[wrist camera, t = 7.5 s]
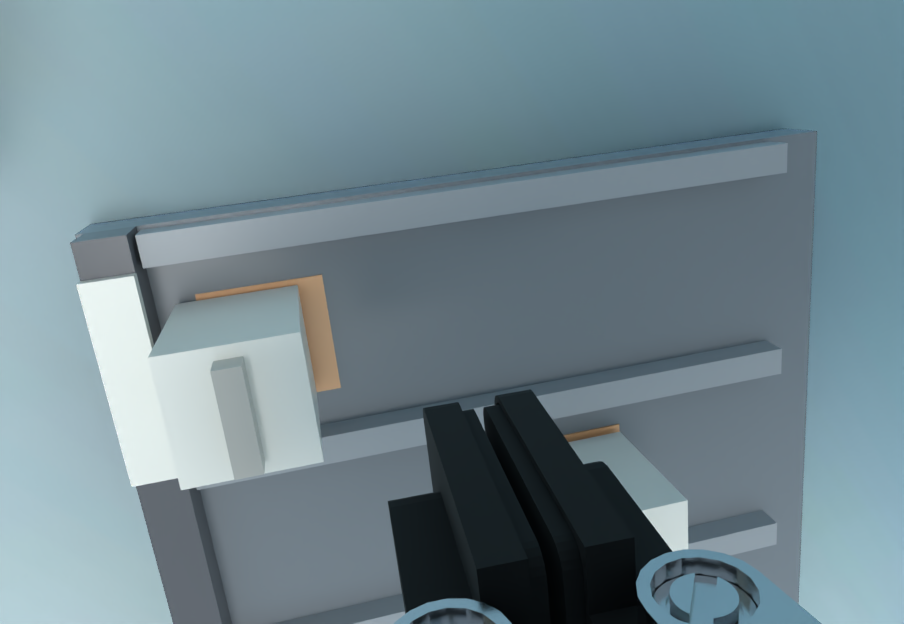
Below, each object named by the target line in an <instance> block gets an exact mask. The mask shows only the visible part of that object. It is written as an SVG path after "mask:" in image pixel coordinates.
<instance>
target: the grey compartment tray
mask: <svg viewBox="0 0 904 624" xmlns="http://www.w3.org/2000/svg"><path fill="white" fill-rule="evenodd" d="M816 148H817V131H809V130H795V129H778V130H771V131H764V132H757V133H749V134H742V135H735V136H728V137H720V138H713V139H706V140H699V141H691V142H684V143H677V144H670V145H662V146H655V147H648V148H641V149H633V150H626V151H619V152H612V153H604V154H597V155H590V156H583V157H575V158H568V159H561V160H554V161H546V162H539V163H532V164H525V165H517V166H510V167H503V168H496V169H488V170H481V171H474V172H467V173H459V174H452V175H445V176H438V177H430V178H423V179H416V180H409V181H401V182H394V183H387V184H380V185H372V186H365V187H358V188H351V189H343V190H336V191H329V192H322V193H314V194H307V195H300V196H293V197H285V198H278V199H271V200H264V201H256V202H249V203H242V204H235V205H227V206H220V207H213V208H206V209H198V210H191V211H184V212H177V213H169V214H162V215H155V216H148V217H140V218H133V219H126V220H119V221H111V222H104V223H97V224H90V225H89V226H87V227H86V228H84V229H83V230H81V231H80V232H78V233H77V234H75V236H76V239H75V240H74V241H72V242H71V243H70V244H71V248H72V251H73V255H74V259H75V262H76V266H77V270H78V274H79V277H80V282H79V283H77V284H76V286H77V289H78V293H79V297H80V300H81V304H82V308H83V311H84V315H85V319H86V322H87V326H88V330H89V333H90V337H91V341H92V344H93V348H94V352H95V355H96V359H97V363H98V366H99V370H100V374H101V377H102V381H103V385H104V388H105V392H106V396H107V399H108V403H109V406H110V410H111V414H112V417H113V421H114V425H115V428H116V432H117V436H118V439H119V443H120V447H121V450H122V454H123V458H124V461H125V465H126V469H127V472H128V476H129V480H130V483H131V487H135V486H136V488H137V491H138V495H139V499H140V502H141V506H142V510H143V513H144V517H145V521H146V524H147V528H148V532H149V535H150V539H151V543H152V547H153V550H154V554H155V558H156V561H157V565H158V569H159V572H160V576H161V580H162V583H163V587H164V591H165V595H166V598H167V602H168V606H169V609H170V613H171V617H172V620H173V624H394V622H396V621H397V620H398V619H400V618H401V617H402V616H403V615H405V608H404V602H403V596H402V590H401V584H400V577H399V571H398V565H397V559H396V552H395V546H394V539H393V533H392V526H391V520H390V513H389V507H388V501H390V500H396V499H401V498H406V497H412V496H417V495H422V494H428V493H433V487H432V480H431V472H430V465H429V457H428V450H427V442H426V434H425V427H424V419H423V408H426V407H432V406H437V405H443V404H449V403H455V402H459V404H460V406H461V408H462V411H464V410H469V409H474V410H475V412H476V414H477V416H478V418H479V420H480V423H481V425H482V427H483V429H484V431H485V427H484V417H483V408H484V407H487V406H492V405H494V400H495V396H496V395H501V394H507V393H512V392H518V391H524V390H530V389H531V390H532V391H533V392H534V394H535V395H536V397H537V398H538V400H539V401H540V403H541V404H542V405H543V407H544V408H545V410H546V411H547V413H548V414H549V415H550V417H551V418H552V420H553V421H554V423H555V424H556V425H557V427H558V428H559V430H560V431H561V433H562V434H563V435H564V437H565V438H566V440H567V441H568V442H572V441H576V440H581V439H586V438H591V437H596V436H601V435H606V434H610V433H615V432H621V433H622V434H623V435H624V436H625V437H626V438H627V439H628V440H629V441H630V442H631V443H632V444H633V445H634V446H635V447H636V448H637V449H638V451H639V452H640V453H641V454H642V455H643V456H644V457H645V458H646V459H647V460H648V461H649V462H650V463H651V464H652V465H653V466H654V467H655V468H656V469H657V470H658V471H659V472H660V473H661V474H662V475H663V476H664V477H665V478H666V479H667V480H668V481H669V482H670V483H671V484H672V485H673V486H674V487H675V488H676V489H677V490H678V491H679V492H680V493H681V494H682V495H683V496H684V497H685V498H686V499H687V500H688V549H704V550H709V551H715V552H720V553H725V554H727V555H730V556H732V557H735V558H738V559H740V560H743V561H744V562H746V563H747V564H749V565H750V566H752V567H754V568H755V569H757V570H758V571H760V572H761V573H762V574H763V575H764V576H765V577H767V578H768V579H769V580H770V581H771V582H773V583H774V584H775V585H776V586H777V587H779V588H780V589H781V590H782V591H783V592H784V593H786V594H787V595H788V596H789V597H790V598H792V599H793V600H794V601H795V602H796V603H798V602H799V576H800V551H801V526H802V501H803V476H804V450H805V425H806V400H807V375H808V349H809V324H810V299H811V274H812V249H813V223H814V198H815V173H816ZM293 285H298V290H299V296H300V302H301V307H302V313H303V318H304V324H305V329H306V335H307V341H308V346H309V352H310V357H311V363H312V369H313V374H314V380H315V385H316V391H317V400H318V410H319V419H320V429H321V439H322V449H323V459H324V462H321V463H316V464H311V465H306V466H301V467H296V468H291V469H286V470H281V471H276V472H271V473H266V474H263V475H258V476H253V477H248V478H243V479H238V480H231V481H226V482H221V483H216V484H210V485H205V486H200V487H195V488H190V489H185V490H181V489H180V485H179V481H178V477H177V473H176V469H175V465H174V461H173V457H172V453H171V449H170V445H169V441H168V437H167V433H166V429H165V425H164V421H163V417H162V413H161V409H160V405H159V401H158V397H157V393H156V389H155V385H154V381H153V377H152V373H151V369H150V365H149V361H148V356H149V354H150V352H151V351H152V349H153V347H154V345H155V343H156V341H157V339H158V337H159V335H160V333H161V331H162V330H163V328H164V326H165V324H166V322H167V320H168V318H169V316H170V314H171V312H172V311H173V309H174V307H175V305H176V304H179V303H186V302H192V301H198V300H205V299H211V298H217V297H224V296H230V295H236V294H243V293H249V292H255V291H262V290H268V289H274V288H281V287H287V286H293Z"/></svg>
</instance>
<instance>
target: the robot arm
mask: <svg viewBox="0 0 904 624" xmlns="http://www.w3.org/2000/svg"><path fill="white" fill-rule="evenodd" d="M483 417H484V427H485V431H484V429H483V427H482V425H481V423H480V420H479V418H478V416H477V414H476V412H475V410H474V409H469V410H464V411H462V408H461V406H460V404H459V402H455V403H449V404H443V405H437V406H432V407H426V408H423V419H424V427H425V434H426V442H427V450H428V457H429V465H430V472H431V480H432V487H433V493H428V494H422V495H417V496H412V497H406V498H401V499H396V500H390V501H388V507H389V513H390V520H391V526H392V533H393V539H394V546H395V552H396V559H397V565H398V571H399V577H400V584H401V590H402V596H403V602H404V608H405V615H403V616H402V617H401V618H400V619H398V620H397V621H396V622H394V624H821V623H820V622H819V621H818V620H817V619H815V618H814V617H813V616H812V615H811V614H809V613H808V612H807V611H806V610H805V609H804V608H802V607H801V606H800V605H799V604H798V603H796V602H795V601H794V600H793V599H792V598H790V597H789V596H788V595H787V594H786V593H784V592H783V591H782V590H781V589H780V588H779V587H777V586H776V585H775V584H774V583H773V582H771V581H770V580H769V579H768V578H767V577H765V576H764V575H763V574H762V573H761V572H760V571H758V570H757V569H755V568H754V567H752V566H750V565H749V564H747V563H746V562H744V561H743V560H740V559H738V558H735V557H732V556H730V555H727V554H725V553H720V552H715V551H709V550H704V549H683V550H678V551H672V550H671V549H670V547H669V546H668V545H667V543H666V542H665V541H664V539H663V538H662V537H661V536H660V534H659V533H658V532H657V530H656V529H655V528H654V526H653V525H652V524H651V522H650V521H649V520H648V518H647V517H646V516H645V514H644V513H643V512H642V510H641V509H640V508H639V507H638V505H637V504H636V503H635V501H634V500H633V499H632V497H631V496H630V495H629V493H628V492H627V491H626V489H625V488H624V487H623V485H622V484H621V483H620V481H619V480H618V479H617V478H616V476H615V475H614V474H613V472H612V471H611V470H610V468H609V467H608V466H607V465H606V464H605V463H604V462H602V461H597V462H592V463H587V464H583V463H582V461H581V460H580V458H579V457H578V455H577V454H576V453H575V451H574V450H573V448H572V447H571V445H570V444H569V443H568V441H567V440H566V438H565V437H564V435H563V434H562V433H561V431H560V430H559V428H558V427H557V425H556V424H555V423H554V421H553V420H552V418H551V417H550V415H549V414H548V413H547V411H546V410H545V408H544V407H543V405H542V404H541V403H540V401H539V400H538V398H537V397H536V395H535V394H534V392H533V391H532V390H531V389H530V390H524V391H518V392H512V393H507V394H501V395H496V396H495V400H494V405H492V406H487V407H484V408H483Z"/></svg>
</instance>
